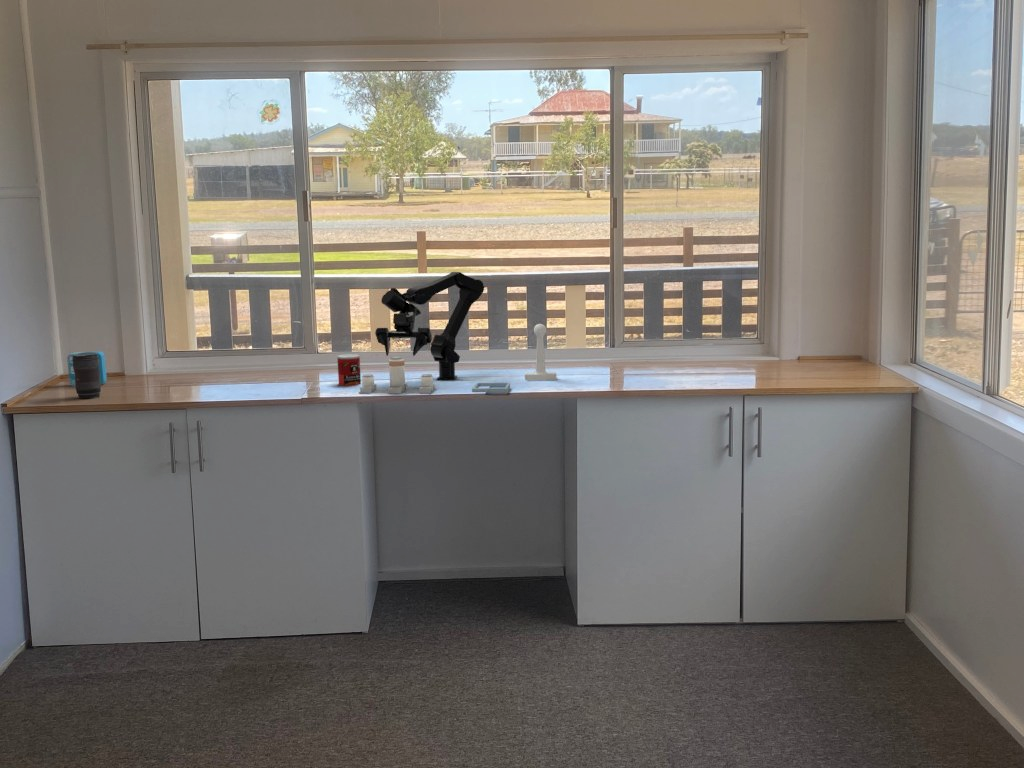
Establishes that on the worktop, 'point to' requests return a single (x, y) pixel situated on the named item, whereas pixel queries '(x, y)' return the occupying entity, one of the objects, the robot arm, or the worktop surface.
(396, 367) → the copper banded cylinder
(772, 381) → the worktop surface
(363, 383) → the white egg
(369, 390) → the block
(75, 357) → the camera lens
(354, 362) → the canned food
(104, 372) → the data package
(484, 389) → the tray
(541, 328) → the joystick
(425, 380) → the small fuse
